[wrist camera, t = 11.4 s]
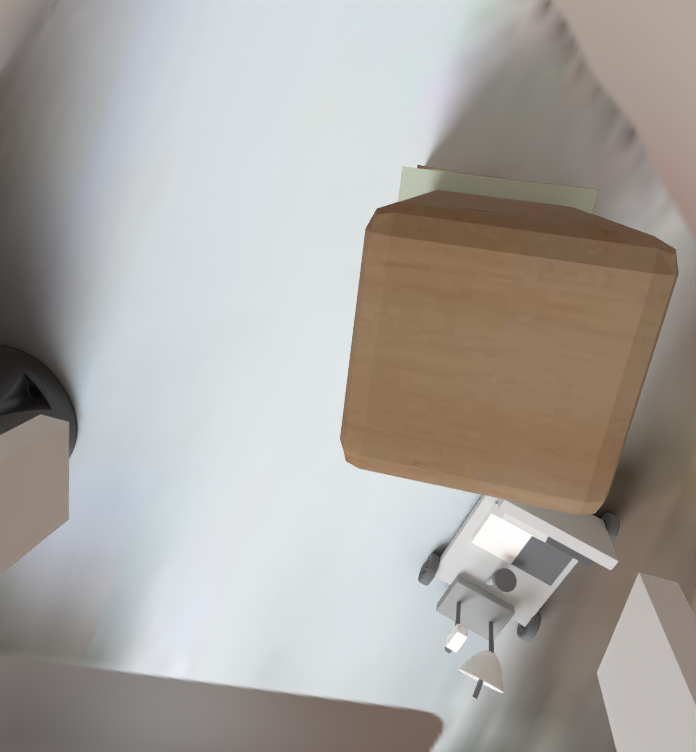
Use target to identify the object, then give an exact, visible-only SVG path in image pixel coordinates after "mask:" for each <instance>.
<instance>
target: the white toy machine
mask: <svg viewBox="0 0 696 752" xmlns="http://www.w3.org/2000/svg"><path fill="white" fill-rule="evenodd" d="M619 527H620V521H619V518H618V517H617V516H615V515H613V514H611V513H605V514H604V515H603V516H602V517H601V519H600V518H598V517H596V516H594V515H593V514H584V515H576V514H571V513H566V512H562V511H557V510H552V509H547V508H543V507H538V506H533V505H529V504H524V503H519V502H514V501H510V500H505V499H500V498H496V497H491V496H486V495H482V497H481V498H480V500H479V501H478V503H477V504H476V505H475V507H474V508H473V510H472V511H471V513H470V514H469V516H468V517H467V519H466V520H465V522H464V523H463V525H462V526H461V528H460V529H459V530H458V532H457V533H456V535H455V536H454V538H453V539H452V541H451V542H450V544H449V545H448V547H447V548H446V550H445V551H444V553H443V554H442V555H441V557H439V556H437V555H435V554H434V553H431V554H430V556H429V557H428V560H427V561H426V562H425V563H424V565H423V566H422V568H421V571H420V573H419V578H418V580H419V582H420V583H422V584H424V585H428V584H429V583H430V582H431V581H432V580H433V578H434V577H436V578H438V579H440V580H442V581H443V582H445V583H447V584H449V585H450V586H449V588H448V589H447V591H446V592H445V593H444V595H443V596H442V598H441V599H440V601H439V602H438V603H437V610H436V611H438V612H439V613H441V614H443V615H445V616H447V617H448V618H450V619H452V620H454V621H456V622H455V628H454V629H453V630H452V632H451V633H450V634H449V636H448V637H447V638H446V647H445V650H446V651H447V652H448V653H450V652H451V651H454V652H457V651H458V649H459V648H460V647H461V645H462V644H463V643H464V641H465V640H466V639H467V637H468V629H470V630H472V631H474V632H475V633H477V634H479V635H481V636H482V637H484V638H486V639H488V640H489V650H485V651H481V652H479V653H477V654H476V655H474V656H473V657H472V658H470V659H469V660H468V661H467V662H466V663H465V664H464V665H463V666H462V667H461V668H460V669H459V670H460V671H461V672H463V673H464V674H466V675H468V676H469V677H471V678H473V679H475V680H476V681H478V683H477V686H476V689H475V691H474V694H473V697H474V698H476V699H477V698H478V695H479V692H480V689H481V687H482V684H484V685H486V686H488V687H490V688H492V689H494V690H496V691H498V692H501V693H503V679H502V672H501V667H500V663H499V660H498V658H497V656H496V655H495V654H494V642H493V641H494V639H495V638H496V637H497V635H498V634H499V633H500V632H501V630H502V629H503V628H504V627H505V625H506V624H507V623H508V622H509V620H510V619H512V620H514V621H516V622H517V623H518V627H517V635H518V637H519V638H521V639H523V640H525V641H530V640H532V639H533V638H534V636H535V635H536V633H537V632H538V629H539V627H540V623H541V615H540V613H539V611H538V610H539V609H540V608H541V607H542V605H543V604H544V603H545V602H546V600H547V599H548V598H549V597H550V595H551V594H552V593H553V592H554V590H555V589H556V588H557V587H558V585H559V584H560V583H561V582H562V581H563V579H564V578H565V577H566V576H567V574H568V573H569V572H570V571H571V569H572V568H573V567H574V566H575V564H576V563H577V562H578V561H579V562H581V563H583V564H585V565H587V566H590V564H591V562H592V560H593V561H595V562H596V563H598V564H600V565H602V566H604V567H606V568H608V569H609V570H612V569H613V567H614V566H615V565H616V564H617V563H618V559H617V556H616V553H615V550H614V548H613V545H612V542H613V541H614V539H615V538H616V536H617V534H618V531H619ZM460 624H461V625H460ZM462 625H463V626H465V627H466V628H465V627H463V626H462ZM467 628H468V629H467Z"/></svg>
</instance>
